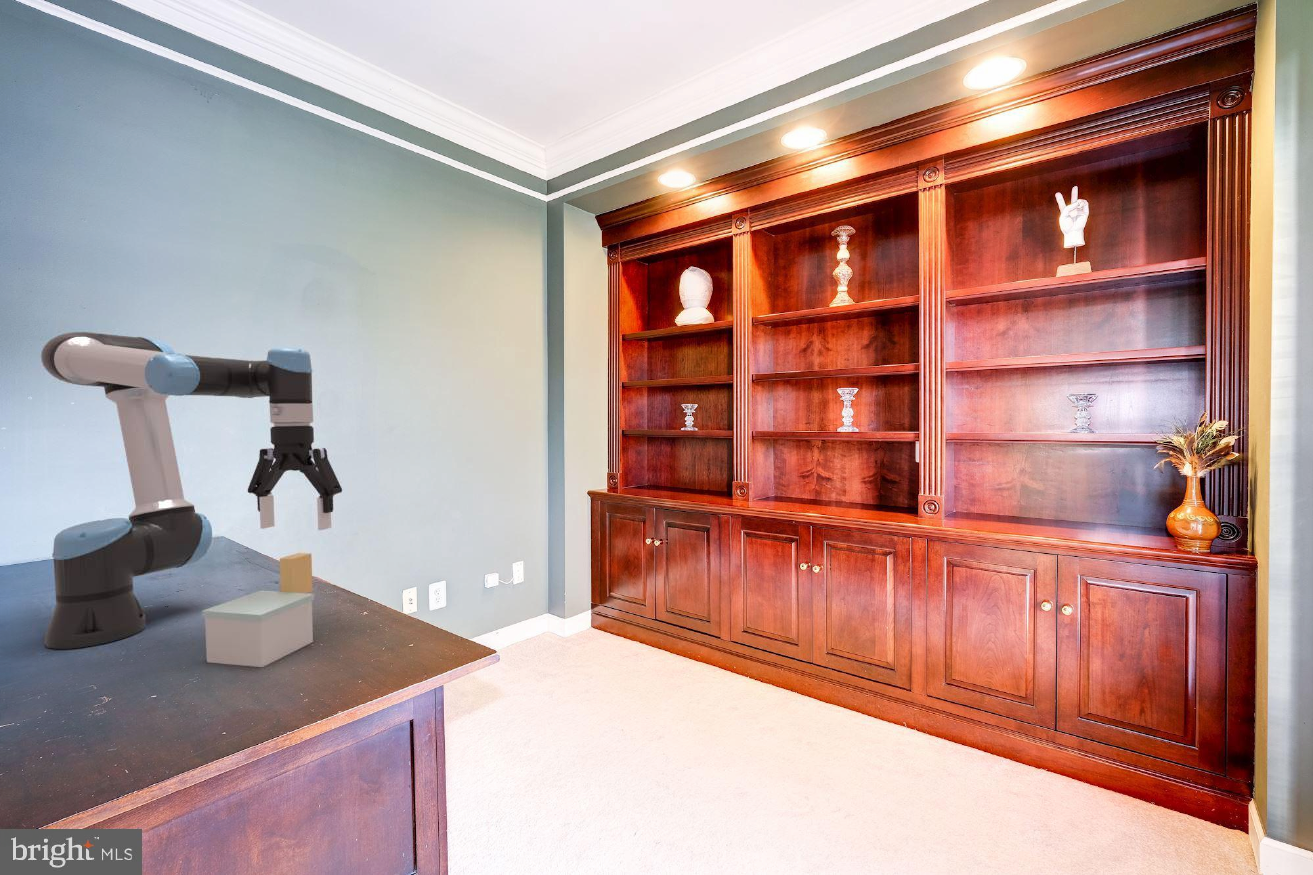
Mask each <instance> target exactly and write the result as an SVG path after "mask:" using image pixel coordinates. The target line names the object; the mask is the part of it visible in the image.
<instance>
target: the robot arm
mask: <svg viewBox="0 0 1313 875" xmlns="http://www.w3.org/2000/svg"><path fill="white" fill-rule="evenodd" d="M40 354H41V356H40V359H41V363H42V366H43V367H44V369H45V370H46V371H47V372H48V374H50V375H51V376H52V377H54V378H55V379H58V380H59V381H63V382H65V383H67V384H71V385H79V386H85V387H102V388H104V393H105V398H106V399H107V400H109V401H111V402H112V403H115V404H116V408H117V414H118V419H119V425H120V430H121V434H122V435H121V436H122V441H123V445H124V450H125V456H126V462H127V466H128V472H129V478H130V484H131V488H132V493H133V499H134V503H135V508H134V509H133V511H131V513H130V514H129V515H128V518H125V517H114V518H107V519H106V518H105V519H102V520H99V519H98V520H93V521H92V520H91V521H89V522H83V523H80V524H77V525H73V526H70V527H67V528H64V529H62V530H61V531H60V532H58V533H57V534H56V535H55V537H54V539H53V551H52V553H51V554H52V559H53V570H54V571H53V572H54V573H53V574H54V585H55V586H54V589H55V607H54V610H53V612H52V615H51V617H50V620H49V623H48V626H47V628H46V629H47V630H45V633H44V641H45V642H44V643H45V647H46V648H49V649H55V650H67V649H69V650H70V649H77V648H78V649H79V648H85V647H86V648H87V647H91V646H98V645H102V644H107V643H111V642H114V641H119V640H122V639H125V638H129V637H130V636H133V635H135V634H138V633H140V632H142V631H143V630H144V629H145V628H146V626H147V625H146V624H147V622H146V621H147V620H146V619H147V618H146V614H145V612H144V611H143V609H142V607H141V605H140V603H139V600H138V599H137V597H136V595H135V592H134V577H138V576H143V575H144V576H145V575H147V574H152V573H153V574H154V573H158V572H162V571H167V570H171V569H179V568H182V567H184V566H186V565H190V564H193V563H196V562H199V561H201V560H202V559H203V558H204V557H205V556H206V555H207V553H208V551H209V549H210V547H211V544H212V540H213V528H212V525H211V521H210V520H209V519H208V518H207V516H206V515H205V514H203V513H199V512H196V509H195V504H193V503H191V502H189V501H187V500H186V499H185V497H184V490H183V485H182V481H181V476H180V470H179V465H178V460H177V453H176V449H175V444H174V440H173V439H174V437H173V434H172V433H173V432H172V428H171V422H170V417H169V413H168V412H169V411H168V407H167V404H166V401H167V399H168V398H169V397H170V396H174V397H176V396H178V397H181V396H211V397H237V398H244V399H245V398H246V399H254V398H260V397H261V398H264V397H269V401H268V402H269V403H268V404H269V422H270V424H273V426H271V428H270V429H269V430H270V443H271V444H272V445H273V446H274V447H273V448H272V447H270V448H269V447H268V448H260V450H259V454H258V455H259V457H258V461H257V464H256V467H255V469H254V471H253V475H252V477H251V480H250V483H249V485H248V487H247V493H248V494H253V495H255V497H256V498H257V500H256V501H257V511H258V512H259V522H260V529H268V528H269V529H270V528H272V527H275V526H276V525H275V501H274V494H273V493H272V490H273V489H274V488H275V487H276V485H277V484H278V482H279V480H280V479H281V478H282V477H283V475H284V474H285V473H286V472H287V471H292V472H297V471H299V473H302V474H303V475H304V476H305V478H307V480H308V481H309V483H310V484H311V485H312V487H313V488H314V489H315V490H316V492H317V493H318V494H319V496H318V497H317V498H316V502H317V504H316V505H317V509H316V510H317V530H318V531H323V530H328V529H331V528H332V513H333V512H334V496H335V495H337V494H340V493H342V492H343V488H342V486H341V484H340V482H339V479H338V478H337V476H336V472H335V471H334V469H333V467H332V465H331V462H330V461H329V459H328V458H329V457H328V452H327V448H325V447H319V448H313V447H312V444H313V443H314V442H315V436H314V426H313V425H311V424H312V423H314V408H313V407H314V406H313V377H312V376H313V375H312V374H313V369H312V362H311V360H312V359H311V355H310V353H309V352H308V351H307V350H305V349H300V348H289V347H283V348H282V347H275V348H271V349H269V350H268V351H267V356H266V360H247V359H246V360H245V359H234V358H233V359H232V358H224V357H222V358H221V357H207V356H199V355H191V354H189V355H188V354H183V353H182V354H181V353H176V352H175V351H174V349H172V347H171V346H169V345H168V344H166V342H164V341H162V340H158V339H152V338H151V339H150V338H147V337H143V336H137V337H135V336H125V335H116V334H107V333H96V332H89V331H88V332H86V331H73V332H67V333H62V334H59V335H56V336H55V337H53V338H51V339H50V340H48V342H46V344H44V346H43V348H42V350H41V353H40ZM274 459H275V460H274ZM272 494H273V495H272Z"/></svg>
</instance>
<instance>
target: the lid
mask: <svg viewBox="0 0 1313 875" xmlns="http://www.w3.org/2000/svg"><path fill="white" fill-rule="evenodd" d="M312 563H313V562H312V553H310V552H309V553H308V552H307V553H306V552H298V553H293V554H291V555H288V556H287V555H286V556H284V557H280V558H279V581H280V584H279V585H280V591H275V590H274V591H273V590H257V591H255V592H251V593H249V594H247V595H244V596H241V597H238V598H235V599H233V600H232V599H231V600H229V601H226V602H223V603H221V604H218V605H214V606H212V607H209V608H206V609H203V610H202V611H201V615H202V618H204V619H205V618H219V619H232V620H246V621H259V622H261V621H264V620H266V619H268V618H271V617H273V616H276V615H278V614H281V613H283V612H285V611H288V610H290V609H293V608H295V607H298V606H300V605H303V604H305V603H307V602H310V601H312V602H313V601H314V600H315V594H314V593H312V592H313V564H312ZM310 592H311V593H310Z"/></svg>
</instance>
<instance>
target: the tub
mask: <svg viewBox="0 0 1313 875" xmlns="http://www.w3.org/2000/svg"><path fill="white" fill-rule="evenodd" d="M204 619H205V620H204V621H205V622H204V624H205V648H206V652H205V653H206V663H209V664H210V663H214V664H220V665H221V664H222V665H233V666H235V665H236V666H244V667H256V668H257V667H258V668H264V667H265V666H269V665H270V664H271V663H274V662H276V661H278V660H279V659H281V658H284V657H286V656H287V655H290V654H292V653H294V652H295V651H297V650H300V649H302V648H304V647H305V646H308V645H310V644H311V643H313V642H314V633H313V632H314V629H313V628H314V627H313V626H314V625H313V600H312V601H310V602H307V603H305V604H303V605H300V606H298V607H295V608H293V609H290V610H288V611H285V612H283V613H281V614H278V615H276V616H273V617H271V618H268V619H266V620H264V621H261V622H259V621H246V620H232V619H219V618H205V617H204Z"/></svg>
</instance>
